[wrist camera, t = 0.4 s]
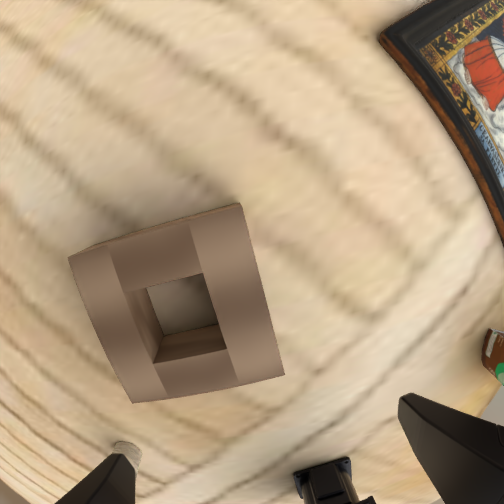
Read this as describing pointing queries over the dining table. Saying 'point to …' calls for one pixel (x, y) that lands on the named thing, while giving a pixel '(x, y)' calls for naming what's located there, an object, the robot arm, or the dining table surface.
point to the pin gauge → (129, 453)
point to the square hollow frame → (189, 342)
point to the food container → (494, 353)
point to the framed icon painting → (461, 81)
